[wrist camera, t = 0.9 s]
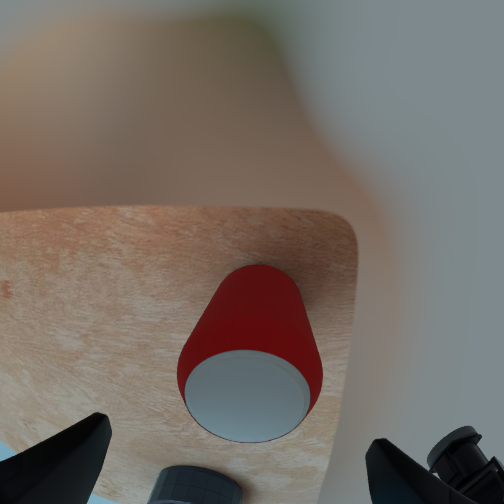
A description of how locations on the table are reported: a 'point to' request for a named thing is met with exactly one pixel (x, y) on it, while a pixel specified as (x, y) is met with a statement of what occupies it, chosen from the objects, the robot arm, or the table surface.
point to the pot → (194, 487)
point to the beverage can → (251, 359)
